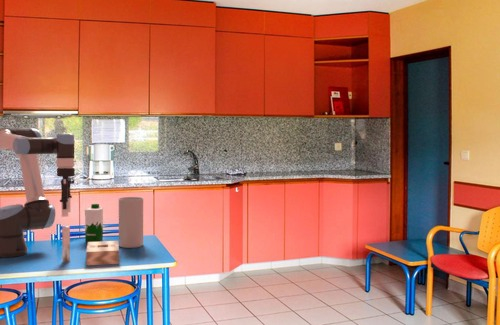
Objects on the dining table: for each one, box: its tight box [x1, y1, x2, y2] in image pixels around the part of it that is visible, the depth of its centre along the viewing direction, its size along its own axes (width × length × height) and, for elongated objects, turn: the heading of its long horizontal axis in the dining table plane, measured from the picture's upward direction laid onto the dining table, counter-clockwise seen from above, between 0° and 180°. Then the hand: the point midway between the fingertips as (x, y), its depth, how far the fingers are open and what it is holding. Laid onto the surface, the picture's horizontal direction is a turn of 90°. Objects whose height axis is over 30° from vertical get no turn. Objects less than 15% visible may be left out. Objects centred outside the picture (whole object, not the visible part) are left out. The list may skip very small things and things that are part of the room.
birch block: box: [85, 240, 120, 266], centre depth 235 cm, size 14×22×6 cm, turn 16°
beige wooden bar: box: [61, 225, 71, 263], centre depth 228 cm, size 3×3×16 cm
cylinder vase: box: [118, 196, 144, 249], centre depth 263 cm, size 12×12×25 cm
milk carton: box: [84, 203, 104, 243], centre depth 273 cm, size 9×9×20 cm
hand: (66, 214), depth 227 cm, fingers open, 13 cm apart
